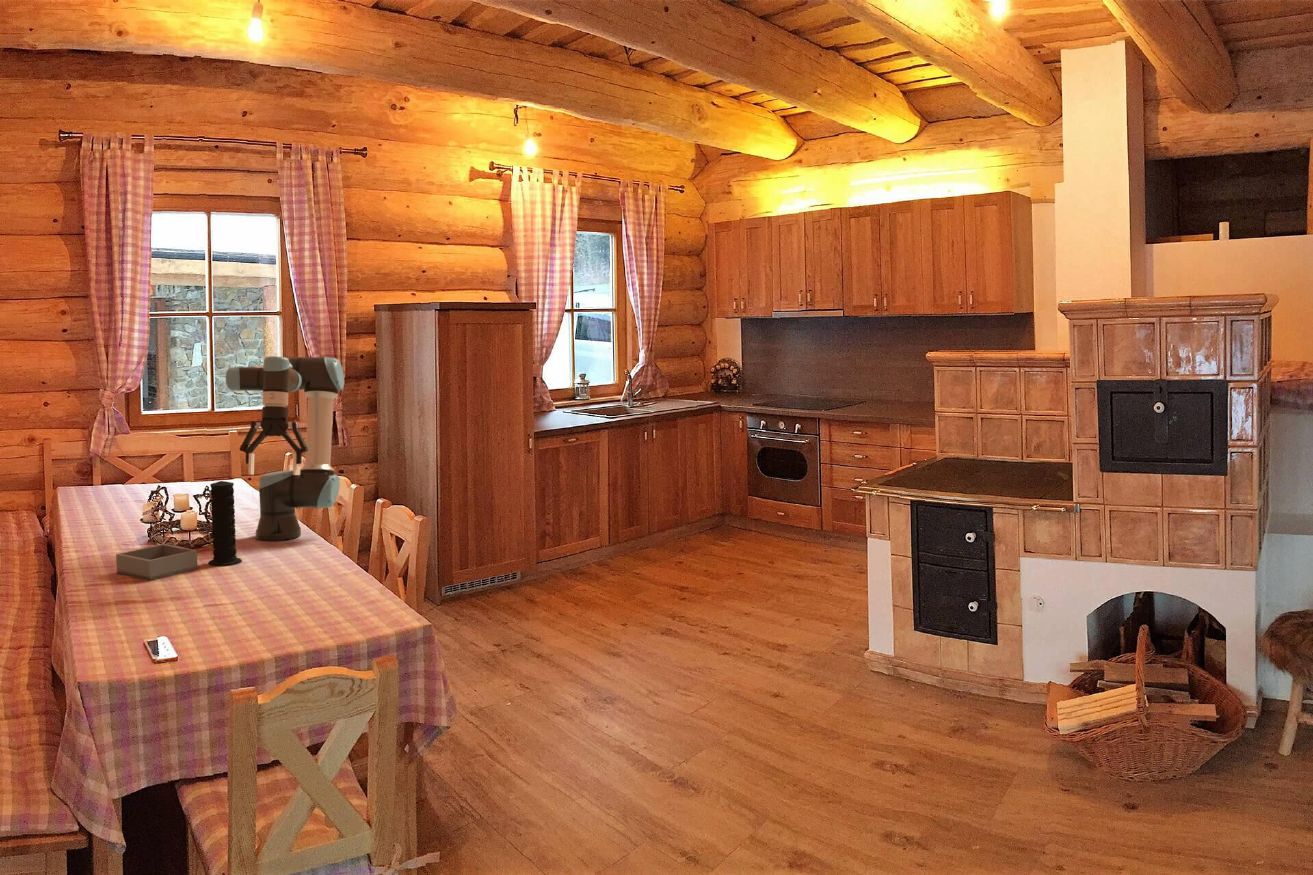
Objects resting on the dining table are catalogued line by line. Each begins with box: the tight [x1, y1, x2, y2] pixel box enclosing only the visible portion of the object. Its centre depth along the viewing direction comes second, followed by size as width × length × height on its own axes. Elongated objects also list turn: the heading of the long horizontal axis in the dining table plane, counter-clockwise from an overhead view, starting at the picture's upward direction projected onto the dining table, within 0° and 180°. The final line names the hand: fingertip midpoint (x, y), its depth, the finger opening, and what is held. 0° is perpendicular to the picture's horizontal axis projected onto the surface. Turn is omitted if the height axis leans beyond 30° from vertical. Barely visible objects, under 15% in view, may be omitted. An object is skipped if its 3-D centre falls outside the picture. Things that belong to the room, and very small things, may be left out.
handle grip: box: [207, 480, 243, 567], centre depth 321 cm, size 10×26×10 cm
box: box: [115, 543, 199, 582], centre depth 310 cm, size 16×16×6 cm
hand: (273, 474), depth 312 cm, fingers open, 13 cm apart
